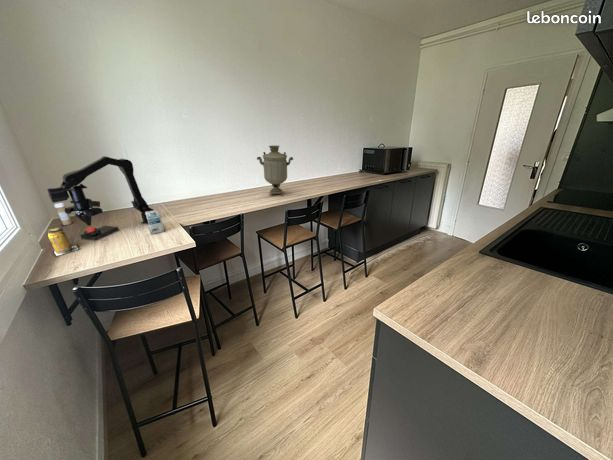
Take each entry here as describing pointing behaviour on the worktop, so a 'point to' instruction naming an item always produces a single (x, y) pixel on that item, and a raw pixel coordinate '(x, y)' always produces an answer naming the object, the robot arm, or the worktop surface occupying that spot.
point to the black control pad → (99, 233)
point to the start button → (90, 229)
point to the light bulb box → (154, 221)
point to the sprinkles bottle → (62, 213)
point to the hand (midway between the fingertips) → (89, 225)
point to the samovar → (275, 168)
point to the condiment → (60, 241)
